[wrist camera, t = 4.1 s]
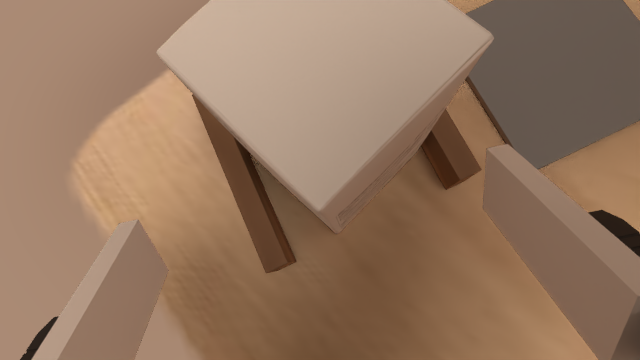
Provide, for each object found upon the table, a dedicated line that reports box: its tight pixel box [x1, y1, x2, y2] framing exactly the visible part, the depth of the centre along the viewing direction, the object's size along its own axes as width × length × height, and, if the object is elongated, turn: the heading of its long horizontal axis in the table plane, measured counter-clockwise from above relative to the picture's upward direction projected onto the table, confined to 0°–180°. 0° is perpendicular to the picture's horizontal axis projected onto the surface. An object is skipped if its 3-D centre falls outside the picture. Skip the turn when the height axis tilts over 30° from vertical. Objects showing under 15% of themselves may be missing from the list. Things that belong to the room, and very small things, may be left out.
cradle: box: [192, 94, 482, 273], centre depth 26 cm, size 15×14×4 cm
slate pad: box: [466, 0, 640, 169], centre depth 27 cm, size 13×13×1 cm
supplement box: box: [157, 0, 494, 234], centre depth 20 cm, size 9×9×15 cm
